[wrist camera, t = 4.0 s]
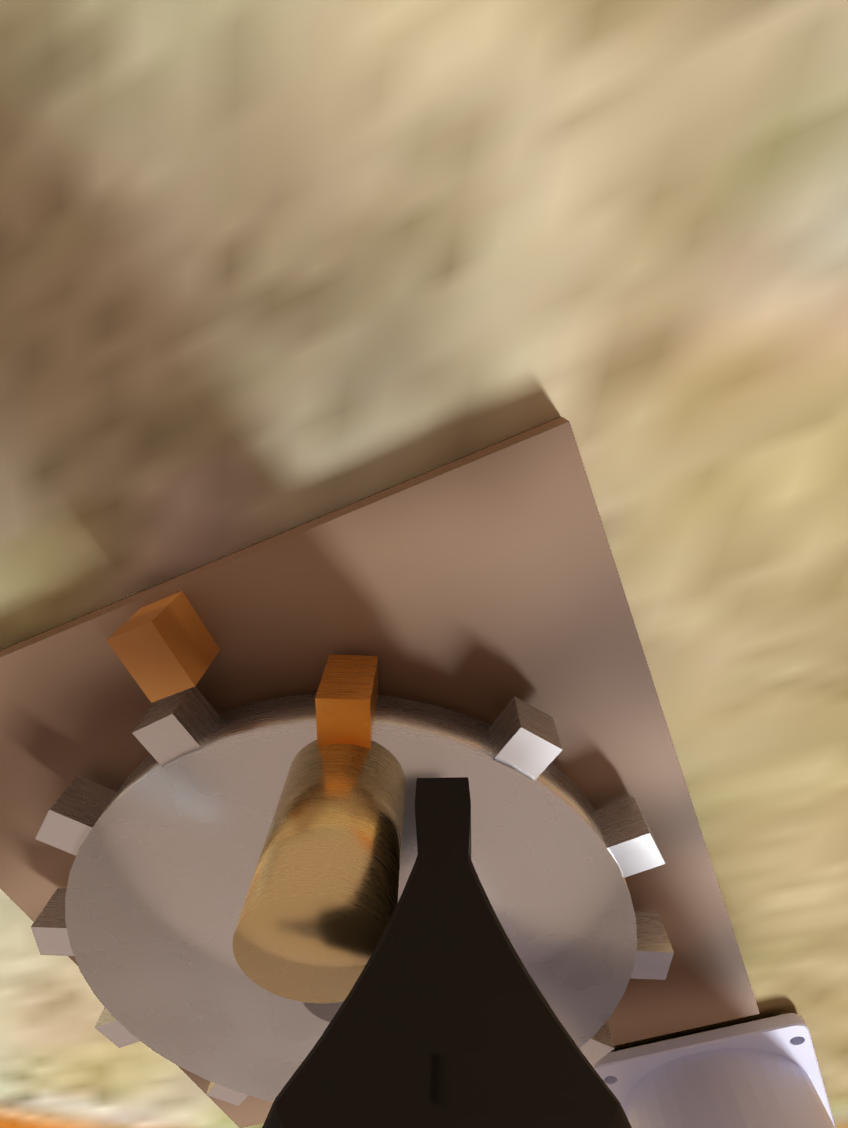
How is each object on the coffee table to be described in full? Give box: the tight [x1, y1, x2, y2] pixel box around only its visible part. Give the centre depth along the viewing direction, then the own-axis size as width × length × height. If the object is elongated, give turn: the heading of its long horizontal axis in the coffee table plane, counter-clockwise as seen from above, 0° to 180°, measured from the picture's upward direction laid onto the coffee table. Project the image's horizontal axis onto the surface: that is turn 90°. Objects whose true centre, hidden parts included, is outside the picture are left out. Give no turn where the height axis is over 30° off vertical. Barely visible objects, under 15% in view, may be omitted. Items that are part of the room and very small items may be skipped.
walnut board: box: [0, 417, 760, 1128], centre depth 17 cm, size 22×21×2 cm
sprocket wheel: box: [31, 654, 674, 1106], centre depth 15 cm, size 18×18×6 cm
